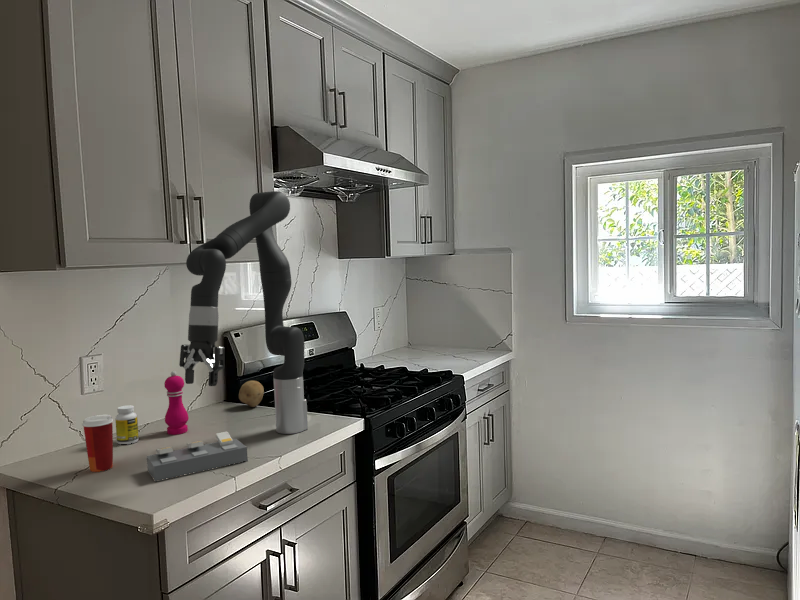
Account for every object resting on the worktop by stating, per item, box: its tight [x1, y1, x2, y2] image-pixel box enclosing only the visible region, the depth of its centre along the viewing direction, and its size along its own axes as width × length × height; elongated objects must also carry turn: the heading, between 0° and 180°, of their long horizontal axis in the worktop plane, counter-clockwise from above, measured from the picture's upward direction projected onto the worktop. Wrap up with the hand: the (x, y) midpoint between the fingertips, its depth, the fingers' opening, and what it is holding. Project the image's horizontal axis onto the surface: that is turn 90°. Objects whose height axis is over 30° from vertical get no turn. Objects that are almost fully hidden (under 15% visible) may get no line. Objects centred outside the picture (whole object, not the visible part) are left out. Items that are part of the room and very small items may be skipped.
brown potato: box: [238, 380, 265, 408], centre depth 226 cm, size 9×9×10 cm
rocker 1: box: [155, 446, 174, 454], centre depth 162 cm, size 3×5×1 cm, turn 33°
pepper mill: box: [164, 370, 189, 436], centre depth 197 cm, size 7×7×20 cm
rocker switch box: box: [146, 438, 249, 482], centre depth 165 cm, size 24×10×4 cm, turn 123°
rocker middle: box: [186, 440, 204, 448], centre depth 166 cm, size 3×5×1 cm, turn 33°
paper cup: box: [81, 414, 114, 473], centre depth 165 cm, size 8×8×14 cm
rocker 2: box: [215, 431, 234, 446], centre depth 170 cm, size 3×5×1 cm, turn 33°
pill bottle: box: [114, 404, 140, 445], centre depth 188 cm, size 6×6×11 cm
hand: (200, 384), depth 162 cm, fingers open, 8 cm apart
